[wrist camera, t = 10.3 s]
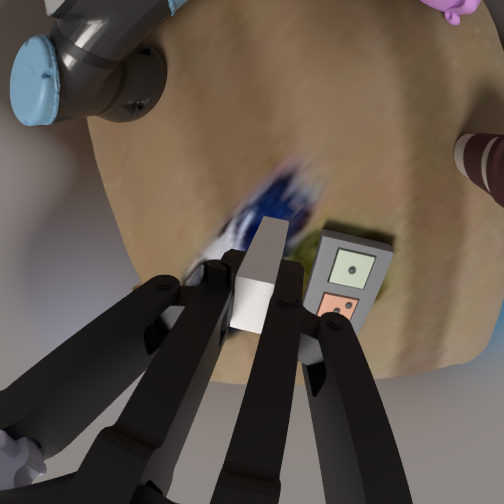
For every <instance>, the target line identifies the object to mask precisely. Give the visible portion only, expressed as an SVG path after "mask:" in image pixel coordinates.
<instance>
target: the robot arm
mask: <svg viewBox="0 0 504 504" xmlns="http://www.w3.org/2000/svg"><path fill="white" fill-rule="evenodd" d="M44 1H45V5H46V11H47V15H49V16H51V17H54V18H57V21H56V22H55V23H54V25H53V26H52V28H51V29H50V30H49V32H48V33H47V35H44V34H39V35H37V36H33V37H32V38H30V39H29V40H27V41H26V42H25V43H24V44H23V46H22V47H21V49H20V50H19V52H18V54H17V56H16V59H15V61H14V64H13V68H12V73H11V79H10V99H11V104H12V108H13V111H14V113H15V115H16V117H17V118H18V120H19V121H20V122H22V123H23V124H25V125H29V126H33V125H40V124H44V125H49V124H51V123H55V122H60V121H65V120H71V119H75V118H82V117H88V116H98V117H101V118H103V119H106V120H108V121H111V122H118V123H121V122H129V121H134V120H137V119H139V118H141V117H143V116H144V115H146V114H147V113H148V112H149V111H150V110H151V109H152V108H153V107H154V106H155V105H156V103H157V102H158V100H159V99H160V97H161V95H162V92H163V90H164V87H165V83H166V64H165V61H164V58H163V56H162V54H161V53H160V52H159V51H158V49H156V48H155V47H154V46H152V45H150V44H147V43H144V42H142V41H143V40H144V39H145V38H147V37H148V36H149V35H150V34H151V33H152V32H153V31H154V30H155V29H156V28H157V27H158V26H159V25H161V24H162V23H163V22H164V21H165V20H166V19H167V18H169V17H170V16H173V15H174V14H175V12H176V10H178V9H179V8H180V7H181V6H182V5H183V4H184V3H186V2H187V1H188V0H44ZM288 225H289V221H285V220H280V219H276V218H271V217H266V216H264V217H263V219H262V222H261V224H260V226H259V228H258V230H257V232H256V234H255V236H254V238H253V241H252V243H251V245H250V247H249V249H248V251H247V252H244V251H240V250H235V249H230V250H229V251H227V252H225V253H224V255H223V256H222V258H221V260H217V259H214V260H208V261H205V262H204V263H202V264H201V282H200V283H199V285H197V286H180V282H179V280H178V279H177V278H175V277H174V276H171V275H158V276H155V277H153V278H151V279H150V280H148V281H147V282H146V283H144V284H143V285H141V286H140V287H138V288H137V289H136V290H134V291H133V292H131V293H130V294H129V295H127V296H126V297H124V298H123V299H122V300H120V301H119V302H117V303H116V304H115V305H113V306H112V307H111V308H109V309H108V310H107V311H105V312H104V313H102V314H101V315H100V316H98V317H97V318H96V319H94V320H93V321H91V322H90V323H89V324H87V325H86V326H85V327H83V328H82V329H81V330H80V331H78V332H77V333H76V334H74V335H73V336H71V337H70V338H69V339H67V340H66V341H65V342H64V343H62V344H61V345H60V346H58V347H57V348H56V349H55V350H53V351H52V352H51V353H49V354H48V355H47V356H46V357H44V358H43V359H42V360H40V361H39V362H38V363H37V364H36V365H34V366H33V367H32V368H30V369H29V370H28V371H27V372H25V373H24V374H23V375H22V376H20V377H19V378H18V379H17V380H16V381H14V382H13V383H12V384H11V385H10V386H8V387H7V388H6V389H5V390H2V391H0V504H178V503H174V502H172V501H170V500H169V499H167V498H166V496H167V493H168V491H169V488H170V485H171V482H172V478H173V472H174V468H175V465H176V463H177V460H178V458H179V455H180V453H181V451H182V448H183V445H184V443H185V441H186V438H187V435H188V433H189V430H190V428H191V425H192V423H193V420H194V418H195V415H196V413H197V410H198V408H199V405H200V403H201V400H202V398H203V395H204V393H205V390H206V387H207V385H208V382H209V380H210V377H211V375H212V372H213V370H214V367H215V365H216V362H217V360H218V357H219V355H220V352H221V349H222V347H223V344H224V342H225V339H226V337H227V331H228V326H229V323H230V327H234V328H238V329H242V330H246V331H250V332H254V333H259V334H261V336H260V339H259V343H258V347H257V350H256V354H255V358H254V361H253V365H252V369H251V372H250V376H249V380H248V383H247V387H246V390H245V394H244V397H243V401H242V404H241V408H240V412H239V414H238V418H237V421H236V425H235V428H234V431H233V435H232V438H231V441H230V444H229V448H228V451H227V454H226V457H225V461H224V464H223V467H222V469H221V472H220V474H219V477H218V480H217V484H216V486H215V490H214V492H213V496H212V498H211V501H210V504H278V502H279V497H280V490H281V482H280V479H279V478H280V476H279V475H280V470H281V464H282V459H283V454H284V448H285V443H286V437H287V431H288V424H289V419H290V412H291V405H292V399H293V391H294V384H295V377H296V369H297V361H299V362H301V363H302V370H303V375H304V380H305V385H306V390H307V395H308V400H309V406H310V412H311V417H312V423H313V428H314V433H315V439H316V445H317V450H318V456H319V462H320V469H321V474H322V481H323V487H324V494H325V501H326V504H413V502H412V498H411V494H410V490H409V486H408V483H407V479H406V475H405V472H404V469H403V465H402V462H401V458H400V455H399V452H398V448H397V445H396V442H395V439H394V436H393V433H392V430H391V427H390V424H389V421H388V418H387V415H386V412H385V409H384V406H383V403H382V400H381V398H380V395H379V392H378V390H377V387H376V384H375V381H374V379H373V376H372V373H371V371H370V368H369V366H368V363H367V361H366V358H365V355H364V353H363V350H362V348H361V346H360V343H359V341H358V338H357V336H356V333H355V331H354V329H353V326H352V324H351V322H350V321H349V319H348V318H346V317H345V316H344V315H342V314H339V313H336V312H326V313H324V314H322V315H321V317H320V316H317V315H315V314H313V313H311V312H310V311H308V310H307V309H306V308H305V307H304V306H303V302H302V289H303V277H304V268H303V266H302V265H301V263H299V262H294V261H289V260H285V259H281V258H282V254H283V249H284V244H285V239H286V234H287V229H288ZM230 321H231V322H230ZM146 369H147V370H146ZM145 370H146V372H145V373H144V375H143V377H142V378H141V380H140V382H139V383H138V385H137V387H136V389H135V390H134V392H133V394H132V396H131V397H130V399H129V401H128V402H127V404H126V406H125V408H124V409H123V411H122V413H121V415H120V416H119V418H118V420H117V421H116V423H115V424H114V425H113V426H109V427H105V428H104V429H103V430H101V431H100V433H99V434H98V435H97V437H96V439H95V440H94V442H93V444H92V446H91V448H90V449H89V451H88V453H87V454H86V456H85V458H84V460H83V462H82V463H81V466H80V467H79V469H78V471H76V472H73V473H70V474H67V475H64V476H61V477H57V478H54V479H51V480H47V481H43V482H39V483H35V484H31V483H32V481H33V480H34V478H36V477H37V476H39V475H44V474H45V473H46V470H47V468H46V465H45V463H44V460H46V459H48V458H50V457H52V456H54V455H56V454H57V453H59V452H60V451H62V450H63V449H64V448H65V447H66V446H68V445H69V444H70V443H71V442H72V441H73V440H74V439H75V438H76V437H77V436H78V435H79V434H80V433H81V432H83V431H84V430H85V429H86V428H87V427H88V426H89V425H90V424H91V423H92V422H93V421H94V420H95V419H96V418H97V417H98V416H99V415H100V414H101V413H102V412H103V411H104V410H105V409H106V408H107V407H108V406H109V405H110V404H111V403H112V402H113V401H114V400H115V399H116V398H117V397H118V396H119V395H120V394H122V392H123V391H125V390H126V388H128V387H129V386H130V385H131V384H132V383H133V382H134V381H135V380H136V379H137V378H138V377H139V376H140V375H141V374H142V373H143V372H144V371H145Z"/></svg>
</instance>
